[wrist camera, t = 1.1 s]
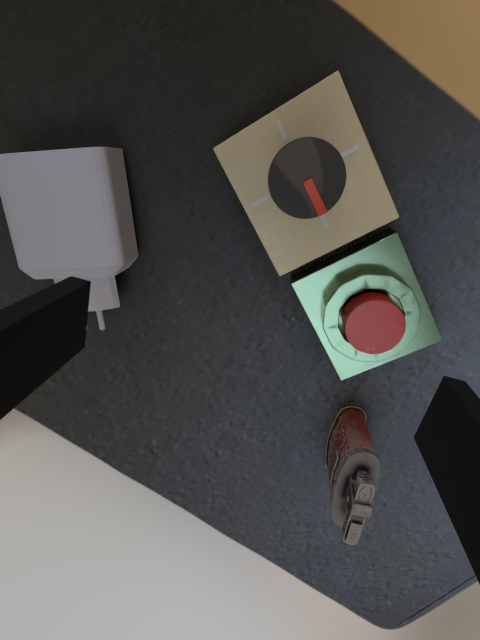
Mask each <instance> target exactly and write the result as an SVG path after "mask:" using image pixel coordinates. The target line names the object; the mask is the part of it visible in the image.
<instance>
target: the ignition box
mask: <svg viewBox="0 0 480 640" xmlns="http://www.w3.org/2000/svg"><path fill="white" fill-rule="evenodd" d="M291 285H292V287H293V289H294V291H295V293H296V295H297V297H298V299H299V301H300V303H301V305H302V306H303V308H304V310H305V312H306V314H307V316H308V318H309V320H310V322H311V324H312V326H313V328H314V330H315V332H316V334H317V335H318V337H319V339H320V341H321V343H322V345H323V347H324V349H325V351H326V353H327V355H328V357H329V359H330V361H331V363H332V364H333V366H334V368H335V370H336V372H337V374H338V376H339V378H340V380H341V381H342V380H345V379H347V378H350V377H352V376H355V375H357V374H360V373H362V372H365V371H367V370H370V369H372V368H375V367H377V366H380V365H382V364H385V363H388V362H390V361H393V360H395V359H398V358H400V357H403V356H405V355H408V354H410V353H413V352H415V351H418V350H420V349H423V348H425V347H428V346H430V345H433V344H435V343H438V342H440V341H443V339H442V337H441V334H440V332H439V329H438V327H437V325H436V322H435V320H434V318H433V315H432V313H431V311H430V308H429V306H428V303H427V301H426V299H425V296H424V294H423V292H422V289H421V287H420V285H419V282H418V280H417V277H416V275H415V273H414V270H413V268H412V266H411V263H410V261H409V259H408V256H407V254H406V251H405V249H404V247H403V244H402V242H401V240H400V237H399V235H398V233H397V232H396V231H394V230H393V229H388V230H386V231H384V232H382V233H380V234H378V235H376V236H374V237H372V238H370V239H368V240H366V241H364V242H362V243H360V244H358V245H356V246H354V247H352V248H350V249H347V250H345V251H343V252H341V253H339V254H337V255H335V256H333V257H331V258H329V259H327V260H325V261H323V262H321V263H319V264H317V265H315V266H313V267H311V268H309V269H307V270H305V271H303V272H300V273H298V274H296V275H294V276H292V277H291ZM366 292H379V293H383V294H385V295H387V296H389V297H390V298H391V299H392V300H393V301H394V302H395V303H396V304H397V306H398V307H399V308H400V310H401V311H402V313H403V314H404V317H405V321H406V329H405V333H404V335H403V337H402V339H401V341H400V342H399V343H398V344H397V345H396V346H395V347H394V348H392V349H391V350H389V351H387V352H384V353H380V354H367V353H363V352H361V351H359V350H357V349H355V348H354V347H353V346H352V345H351V344H350V343H349V341H348V340H347V338H346V335H345V332H344V329H343V325H342V314H343V311H344V309H345V307H346V305H347V304H348V303H349V302H350V301H351V300H352V299H353V298H354V297H356V296H358V295H360V294H362V293H366Z"/></svg>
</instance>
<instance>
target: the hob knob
mask: <svg viewBox="0 0 480 640" xmlns="http://www.w3.org/2000/svg"><path fill="white" fill-rule="evenodd" d="M345 184H346V168H345V163H344V161H343V158H342V156H341V154H340V153H339V152H338V150H337V149H336V148H335V147H334V146H333V145H332V144H330V143H329V142H327V141H325V140H323V139H320V138H316V137H302V138H298V139H295V140H293V141H291V142H289V143H288V144H286V145H285V146H284V147H282V148H281V149H280V150H279V152H278V153H277V154H276V155H275V157H274V159H273V161H272V163H271V165H270V168H269V173H268V187H269V192H270V195H271V197H272V199H273V201H274V203H275V204H276V205H277V207H278V208H279V209H280V210H282V211H283V212H284V213H286V214H288V215H289V216H292V217H295V218H299V219H310V218H315V217H318V216H321V215H323V214H325V213H327V212H328V211H329V210H330V209H332V208H333V207H334V206H335V205H336V203H337V202H338V201H339V199H340V197H341V196H342V193H343V191H344V188H345Z"/></svg>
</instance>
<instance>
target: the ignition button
mask: <svg viewBox="0 0 480 640" xmlns="http://www.w3.org/2000/svg"><path fill="white" fill-rule="evenodd" d="M342 325H343V329H344V332H345V335H346V338H347V340H348V341H349V343H350V344H351V345H352V346H353V347H354V348H355V349H357V350H359V351H361V352H363V353H367V354H380V353H384V352H387V351H389V350H391V349H392V348H394V347H395V346H396V345H397V344H398V343H399V342H400V341H401V339H402V337H403V335H404V333H405V329H406V321H405V317H404V314H403V313H402V311H401V310H400V308H399V307H398V306H397V304H396V303H395V302H394V301H393V300H392V299H391V298H390V297H389V296H387V295H385V294H383V293H379V292H366V293H362V294H360V295H358V296H356V297H354V298H353V299H352V300H351V301H350V302H349V303H348V304H347V305H346V307H345V309H344V311H343V314H342Z"/></svg>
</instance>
